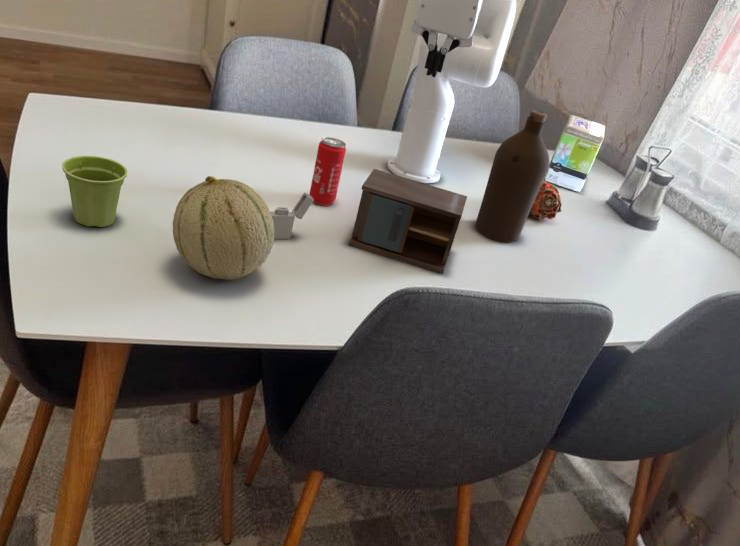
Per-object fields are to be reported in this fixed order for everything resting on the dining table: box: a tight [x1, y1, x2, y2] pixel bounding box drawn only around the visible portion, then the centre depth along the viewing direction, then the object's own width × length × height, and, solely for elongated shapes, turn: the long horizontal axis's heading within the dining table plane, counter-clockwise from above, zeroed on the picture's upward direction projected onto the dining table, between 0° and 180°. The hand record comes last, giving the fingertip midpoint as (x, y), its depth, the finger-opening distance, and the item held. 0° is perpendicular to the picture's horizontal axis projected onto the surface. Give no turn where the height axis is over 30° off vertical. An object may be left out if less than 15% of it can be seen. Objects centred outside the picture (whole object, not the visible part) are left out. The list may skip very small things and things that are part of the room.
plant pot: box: [61, 155, 129, 228], centre depth 111 cm, size 9×9×9 cm
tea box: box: [544, 114, 606, 193], centre depth 183 cm, size 15×10×15 cm
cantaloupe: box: [172, 175, 275, 280], centre depth 104 cm, size 15×15×15 cm
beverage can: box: [309, 136, 347, 207], centre depth 136 cm, size 5×5×12 cm
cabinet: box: [348, 168, 468, 275], centre depth 127 cm, size 10×18×11 cm, turn 77°
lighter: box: [269, 192, 314, 240], centre depth 121 cm, size 7×2×8 cm, turn 114°
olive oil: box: [474, 109, 550, 243], centre depth 140 cm, size 11×11×25 cm
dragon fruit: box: [528, 179, 563, 221], centre depth 158 cm, size 8×8×12 cm
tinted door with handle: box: [358, 192, 415, 253], centre depth 122 cm, size 4×8×9 cm, turn 77°
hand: (431, 74), depth 124 cm, fingers closed
